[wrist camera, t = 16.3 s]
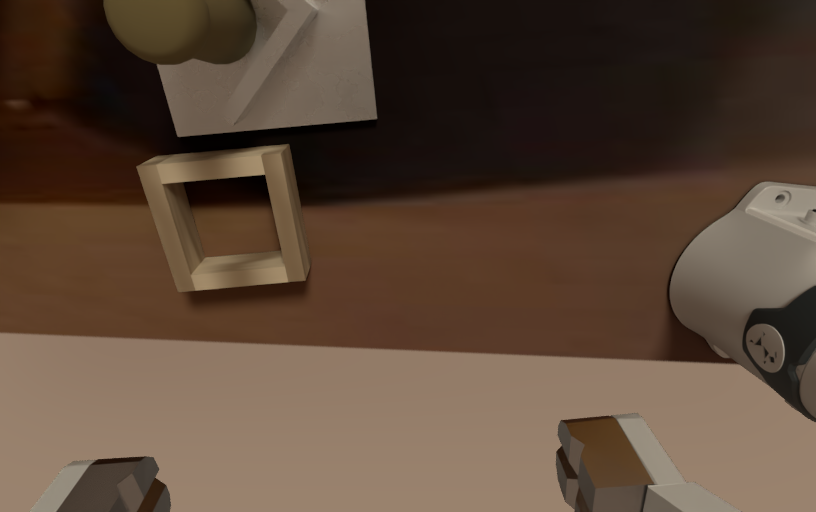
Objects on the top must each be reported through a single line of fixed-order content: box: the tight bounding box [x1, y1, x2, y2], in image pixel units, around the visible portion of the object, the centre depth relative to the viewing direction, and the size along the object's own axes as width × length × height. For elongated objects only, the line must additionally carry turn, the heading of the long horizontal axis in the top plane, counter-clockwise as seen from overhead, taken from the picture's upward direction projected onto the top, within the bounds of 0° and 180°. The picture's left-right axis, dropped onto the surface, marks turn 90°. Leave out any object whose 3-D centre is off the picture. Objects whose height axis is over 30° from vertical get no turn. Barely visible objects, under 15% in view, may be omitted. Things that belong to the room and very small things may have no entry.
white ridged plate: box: [157, 0, 377, 137], centre depth 33 cm, size 16×16×4 cm
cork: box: [104, 0, 257, 65], centre depth 29 cm, size 6×6×11 cm
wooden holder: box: [137, 144, 311, 292], centre depth 39 cm, size 11×11×4 cm
